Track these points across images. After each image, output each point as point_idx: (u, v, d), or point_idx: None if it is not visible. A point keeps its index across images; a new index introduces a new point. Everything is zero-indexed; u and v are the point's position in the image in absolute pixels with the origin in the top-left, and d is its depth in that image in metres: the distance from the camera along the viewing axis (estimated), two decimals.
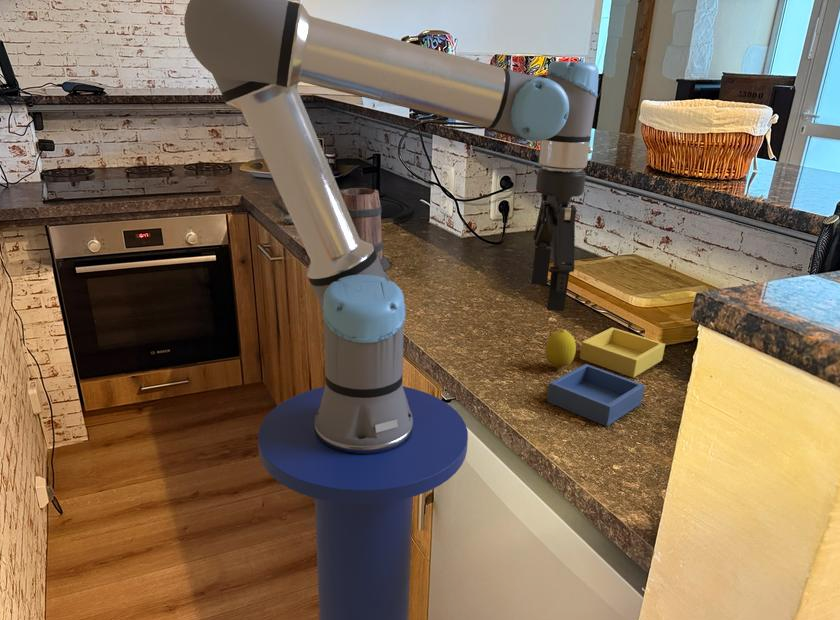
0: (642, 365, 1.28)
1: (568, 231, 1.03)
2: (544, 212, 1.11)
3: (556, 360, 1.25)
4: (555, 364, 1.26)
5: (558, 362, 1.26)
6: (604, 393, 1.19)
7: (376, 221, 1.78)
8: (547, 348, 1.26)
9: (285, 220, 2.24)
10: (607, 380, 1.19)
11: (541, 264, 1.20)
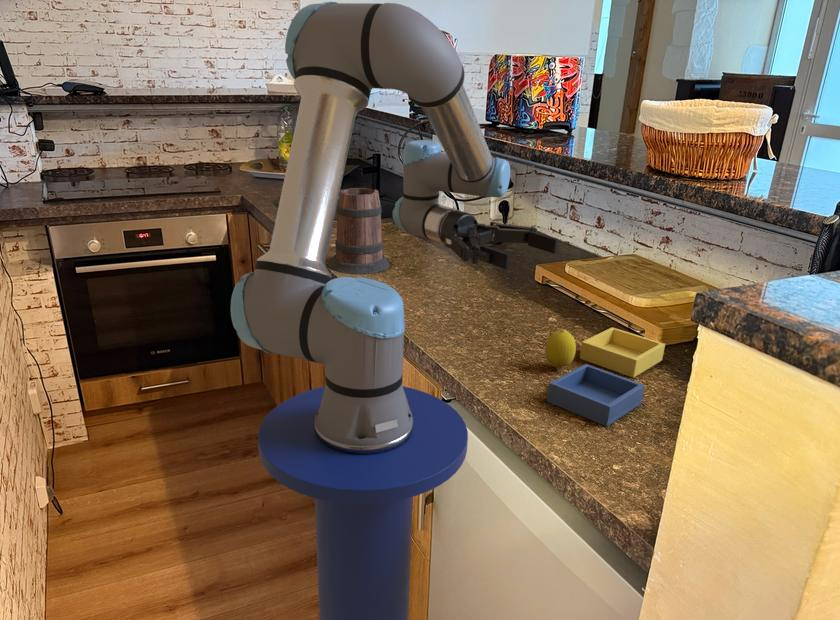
0: (642, 365, 1.28)
1: None
2: (474, 228, 1.32)
3: (556, 360, 1.25)
4: (555, 364, 1.26)
5: (558, 362, 1.26)
6: (604, 393, 1.19)
7: (376, 221, 1.78)
8: (547, 348, 1.26)
9: None
10: (607, 380, 1.19)
11: None
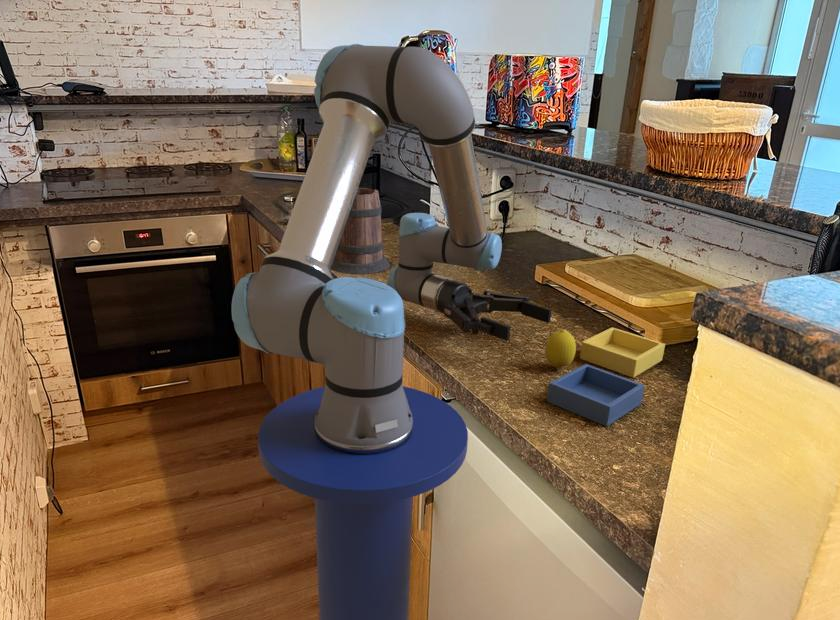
0: (642, 365, 1.28)
1: None
2: (470, 299, 1.38)
3: (556, 360, 1.25)
4: (555, 364, 1.26)
5: (558, 362, 1.26)
6: (604, 393, 1.19)
7: (376, 221, 1.78)
8: (547, 348, 1.26)
9: (285, 220, 2.24)
10: (607, 380, 1.19)
11: None
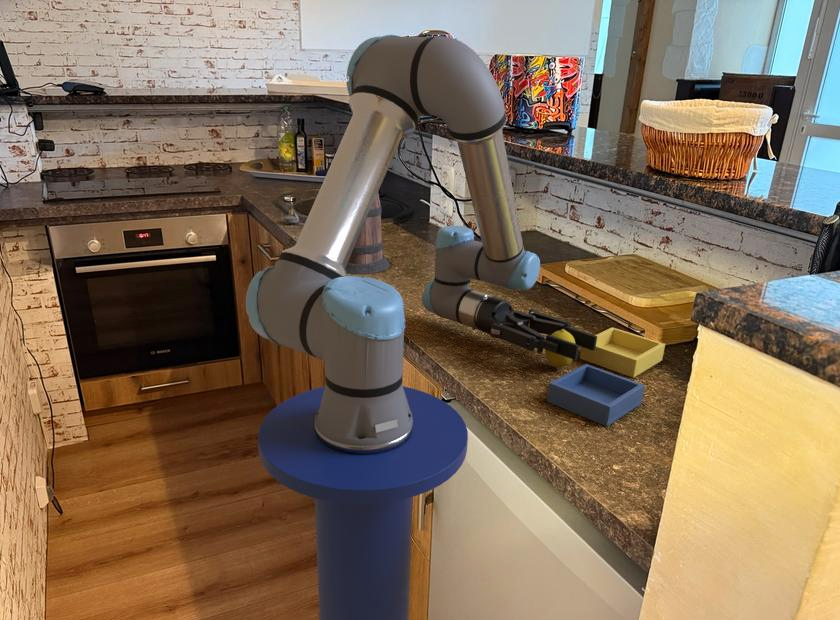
0: (642, 365, 1.28)
1: None
2: None
3: (556, 360, 1.25)
4: (555, 364, 1.26)
5: (558, 362, 1.26)
6: (604, 393, 1.19)
7: (376, 221, 1.78)
8: None
9: (285, 220, 2.24)
10: (607, 380, 1.19)
11: None
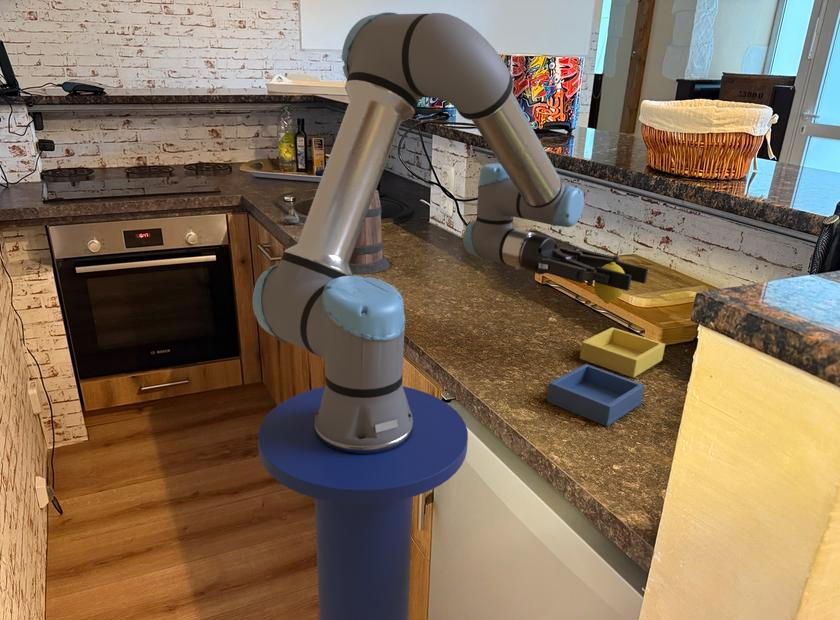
0: (642, 365, 1.28)
1: None
2: None
3: (606, 293, 1.23)
4: (605, 298, 1.25)
5: (608, 295, 1.24)
6: (604, 393, 1.19)
7: (376, 221, 1.78)
8: None
9: (285, 220, 2.24)
10: (607, 380, 1.19)
11: None
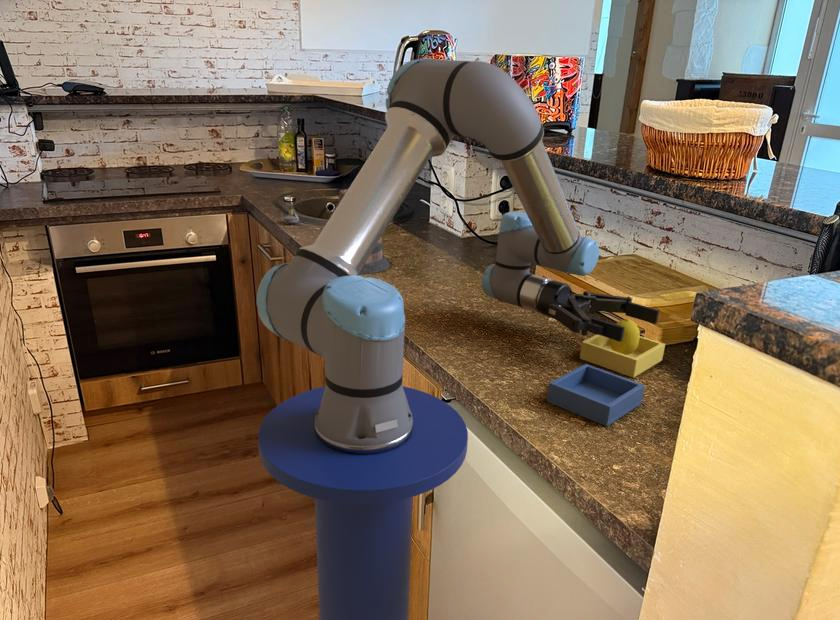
0: (642, 365, 1.28)
1: None
2: (575, 299, 1.36)
3: (621, 348, 1.30)
4: (620, 352, 1.31)
5: (623, 350, 1.30)
6: (604, 393, 1.19)
7: None
8: None
9: (285, 220, 2.24)
10: (607, 380, 1.19)
11: None
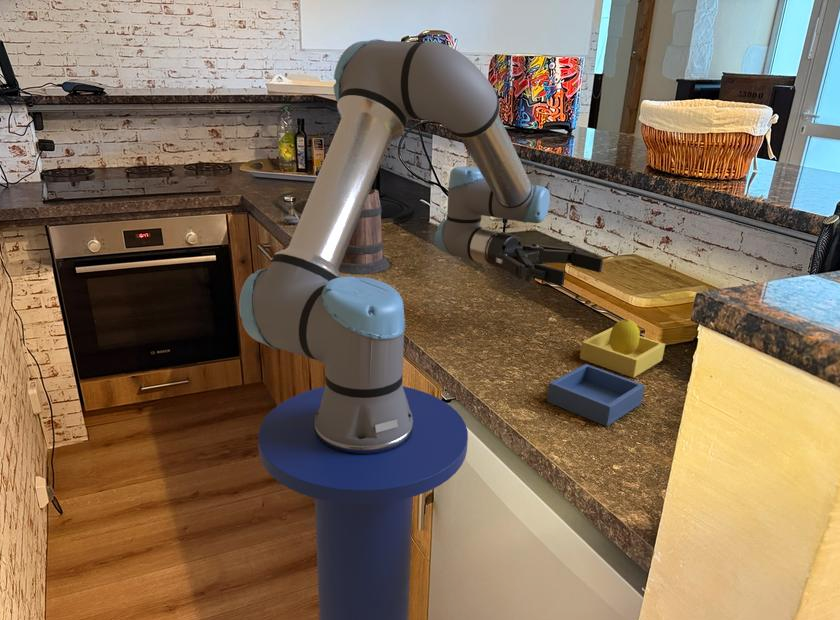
0: (642, 365, 1.28)
1: None
2: (521, 249, 1.39)
3: (621, 348, 1.30)
4: (620, 352, 1.31)
5: (623, 350, 1.30)
6: (604, 393, 1.19)
7: (376, 221, 1.78)
8: (612, 337, 1.31)
9: (285, 220, 2.24)
10: (607, 380, 1.19)
11: None
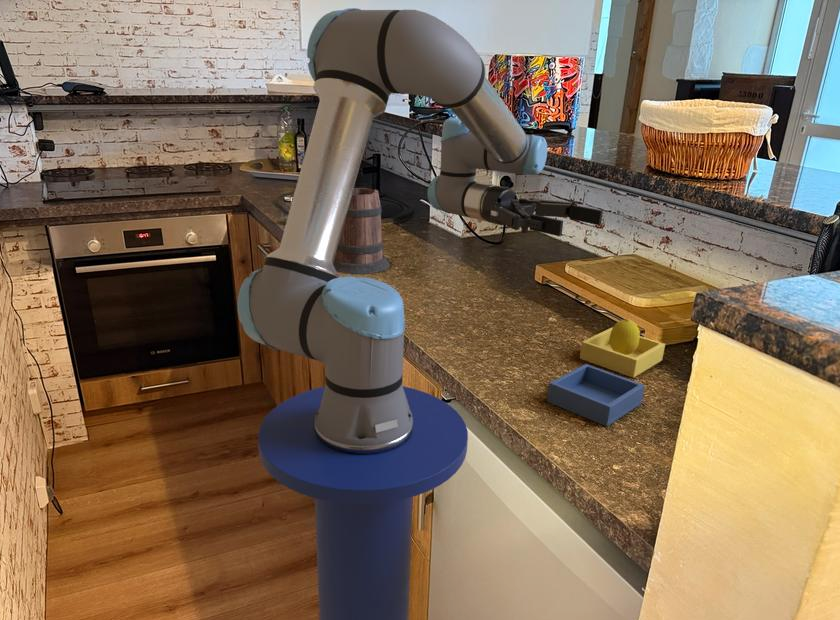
0: (642, 365, 1.28)
1: None
2: (517, 201, 1.33)
3: (621, 348, 1.30)
4: (620, 352, 1.31)
5: (623, 350, 1.30)
6: (604, 393, 1.19)
7: (376, 221, 1.78)
8: (612, 337, 1.31)
9: (285, 220, 2.24)
10: (607, 380, 1.19)
11: None
